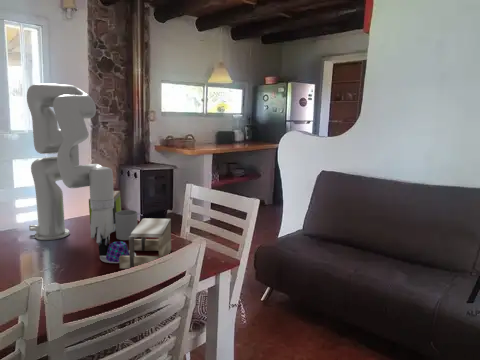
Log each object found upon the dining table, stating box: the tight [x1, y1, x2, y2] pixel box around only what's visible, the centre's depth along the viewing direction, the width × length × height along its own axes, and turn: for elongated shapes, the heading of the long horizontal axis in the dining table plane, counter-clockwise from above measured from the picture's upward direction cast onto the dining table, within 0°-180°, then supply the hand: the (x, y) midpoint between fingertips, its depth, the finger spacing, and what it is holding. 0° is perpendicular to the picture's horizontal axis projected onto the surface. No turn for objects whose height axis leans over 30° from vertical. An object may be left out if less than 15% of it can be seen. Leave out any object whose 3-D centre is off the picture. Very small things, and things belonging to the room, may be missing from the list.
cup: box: [115, 209, 139, 241], centre depth 155 cm, size 8×8×10 cm
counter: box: [119, 217, 172, 269], centre depth 133 cm, size 14×18×12 cm
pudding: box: [99, 240, 137, 264], centre depth 134 cm, size 12×12×5 cm
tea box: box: [88, 190, 122, 233], centre depth 166 cm, size 15×10×15 cm, turn 5°
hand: (104, 254), depth 134 cm, fingers closed
